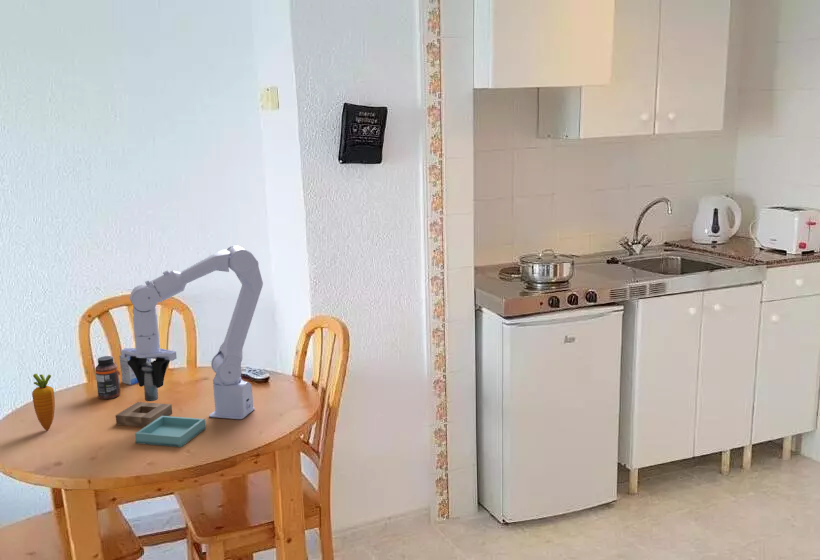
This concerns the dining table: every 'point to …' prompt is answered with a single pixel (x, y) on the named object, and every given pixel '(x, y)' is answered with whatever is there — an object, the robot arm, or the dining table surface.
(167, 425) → the tray
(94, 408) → the dining table surface
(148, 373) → the steel pin
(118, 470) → the dining table surface
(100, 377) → the supplement bottle
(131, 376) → the medicine box
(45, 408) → the carrot
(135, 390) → the dining table surface
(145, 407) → the brown wooden square frame
